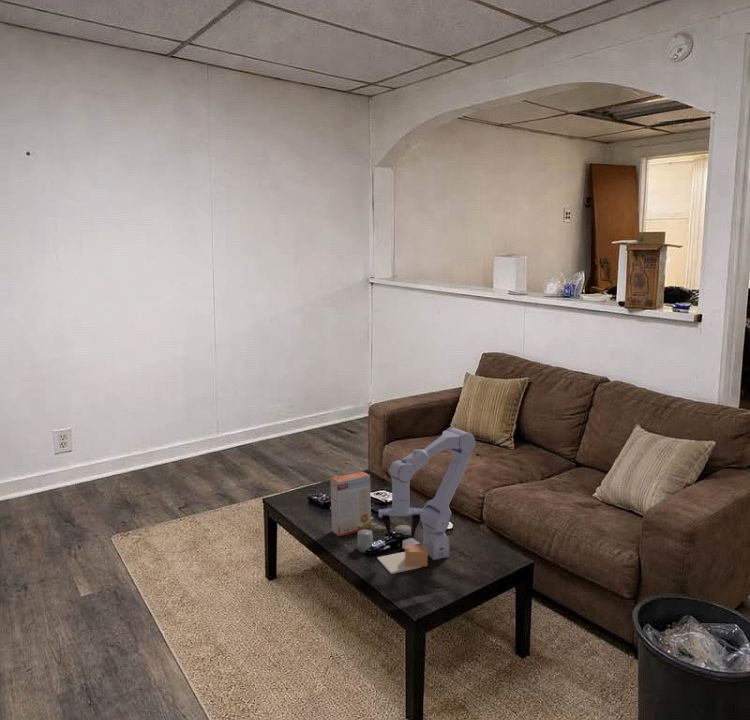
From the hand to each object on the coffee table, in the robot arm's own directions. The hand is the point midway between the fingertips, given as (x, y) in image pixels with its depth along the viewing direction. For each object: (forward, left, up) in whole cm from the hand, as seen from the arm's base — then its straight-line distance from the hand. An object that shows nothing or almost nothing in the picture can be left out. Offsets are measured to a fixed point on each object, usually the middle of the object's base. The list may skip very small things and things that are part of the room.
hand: (400, 536), depth 206 cm
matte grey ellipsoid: (+18, -10, -9) cm, 23 cm away
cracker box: (+29, +6, -9) cm, 31 cm away
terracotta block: (-2, -1, -6) cm, 6 cm away
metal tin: (+6, -7, -9) cm, 13 cm away
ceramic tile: (-1, +1, -9) cm, 9 cm away
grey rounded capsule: (+13, +7, -9) cm, 18 cm away
